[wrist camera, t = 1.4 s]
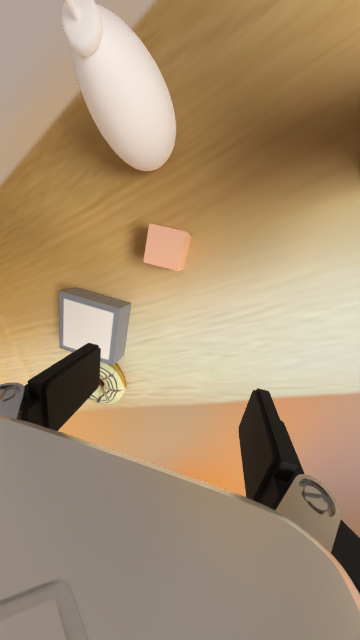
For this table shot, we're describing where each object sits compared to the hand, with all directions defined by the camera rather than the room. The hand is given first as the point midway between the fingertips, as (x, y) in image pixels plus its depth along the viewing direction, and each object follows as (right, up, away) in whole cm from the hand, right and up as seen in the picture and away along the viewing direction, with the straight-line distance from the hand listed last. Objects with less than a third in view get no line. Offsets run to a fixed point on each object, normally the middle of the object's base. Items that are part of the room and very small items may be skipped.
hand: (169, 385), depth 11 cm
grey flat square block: (-15, +3, +25) cm, 29 cm away
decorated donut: (-15, -8, +29) cm, 34 cm away
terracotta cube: (-1, +15, +18) cm, 24 cm away
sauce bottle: (-3, +27, +15) cm, 31 cm away
